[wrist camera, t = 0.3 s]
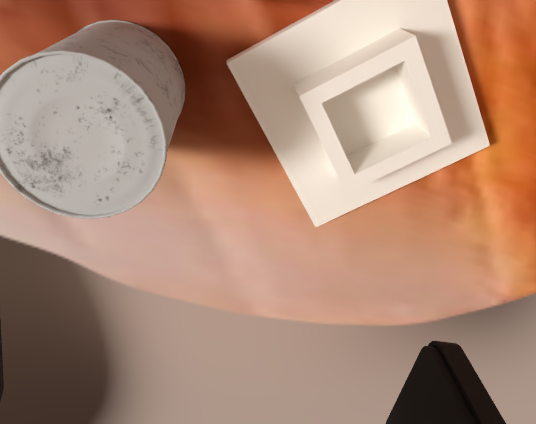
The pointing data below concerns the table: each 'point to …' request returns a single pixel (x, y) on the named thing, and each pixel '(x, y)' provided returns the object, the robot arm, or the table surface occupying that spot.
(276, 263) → the table surface
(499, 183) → the table surface
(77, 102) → the grey cylinder
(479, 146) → the flange socket
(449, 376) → the robot arm
